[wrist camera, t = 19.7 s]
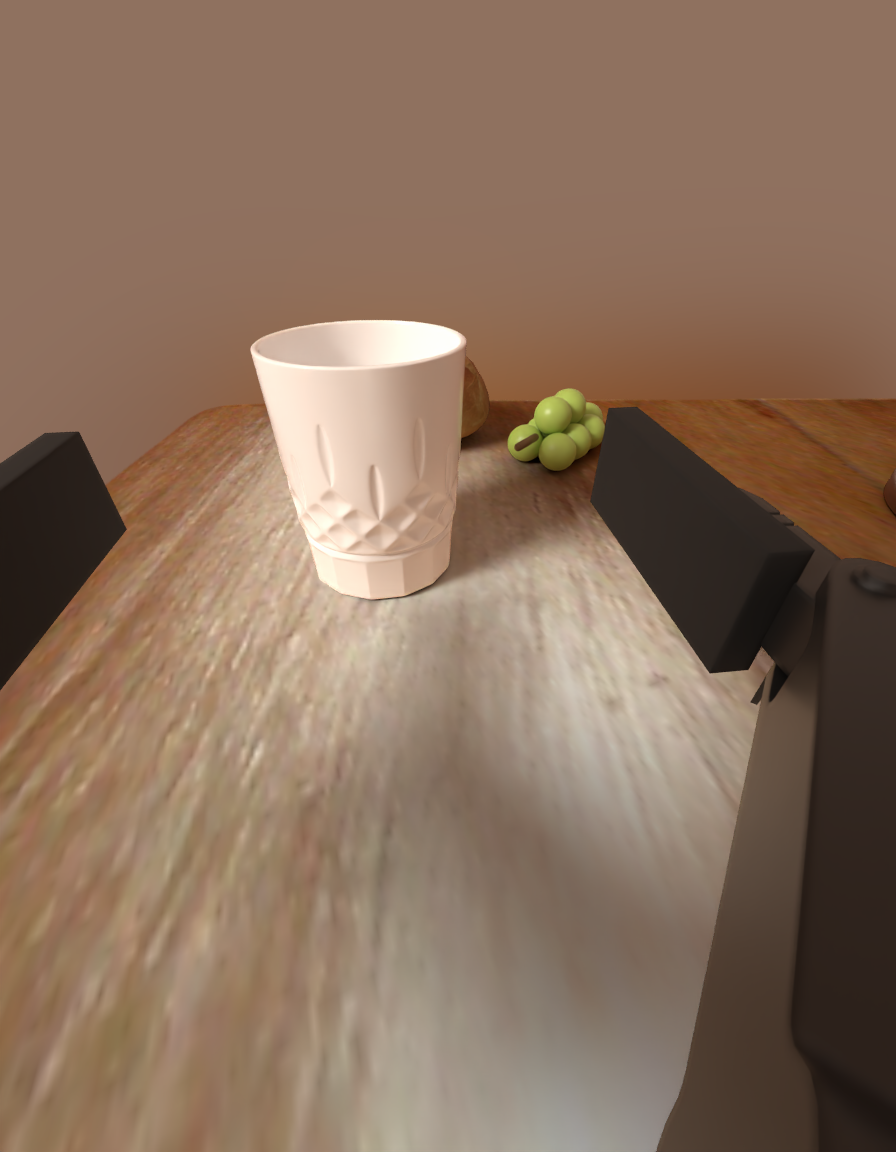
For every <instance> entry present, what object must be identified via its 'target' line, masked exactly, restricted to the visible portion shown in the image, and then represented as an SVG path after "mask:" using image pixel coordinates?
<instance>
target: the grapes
mask: <svg viewBox="0 0 896 1152" xmlns="http://www.w3.org/2000/svg"><path fill="white" fill-rule="evenodd" d="M604 430H605V425H604V423H603V415H602V412H601V410H600V408H599V407H598V406H597V405H595V404H593V403H586V400H585V398H584V396H583V395H582V394H581V393H580V392H579V391H578V390H575V389H564V390H562V391H560V392H558V393H557V394H556V395H555V396H553V397H548V398H546V399H544V400H542V401H541V402H540V403H539V404H538V406H537V408H536V410H535V414H534V418H533V419H532V420H531V421H530V422H529V423H528V424H525V425H520V426H518V427H516V428H515V429H514V430H513V431H512V432H511V434H510V436H509V438H508V449H509V451H510V453H511V455H512V456H513V457H514V458H516V459H517V460H520V461H530V460H533V459H535V458H536V457H537V456H538V455H539V459H540V461H541V463H542V464H543V465H544V466H545V467H546V468H548V469H550V470H553V471H560V470H563V469H566V468H567V467H569V466H570V465H571V464H572V462H573V461H574V460H575V459H579V458H581V457H583V456H584V455H585V454H586V453H587V452H588V450H589V449H592V448H595V447H597V446H598V445H599V444H600V443H601V442H602V440H603V435H604Z"/></svg>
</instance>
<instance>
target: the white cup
mask: <svg viewBox="0 0 896 1152" xmlns="http://www.w3.org/2000/svg"><path fill="white" fill-rule="evenodd" d="M251 354H252V358H253V361H254V365H255V368H256V372H257V375H258V379H259V382H260V386H261V390H262V393H263V397H264V400H265V404H266V407H267V411H268V414H269V418H270V421H271V425H272V429H273V432H274V436H275V440H276V443H277V447H278V451H279V455H280V459H281V463H282V466H283V468H284V471H285V473H286V476H287V479H288V484H289V488H290V492H291V496H292V498H293V501H294V504H295V506H296V509H297V514H298V518H299V522H300V524H301V526H302V527H303V528H304V530H305V533H306V536H307V538H308V542H309V546H310V549H311V553H312V557H313V560H314V563H315V567H316V570H317V573H318V576H319V579H320V580H321V581H323V582H324V583H326V584H327V585H328V586H330V587H331V588H333V589H334V590H336V591H337V592H339V593H340V594H344V595H349V596H354V597H359V598H365V599H370V600H373V599H383V598H392V597H401V596H406V595H408V594H411V593H413V592H415V591H418V590H420V589H422V588H424V587H427V586H429V585H431V584H433V583H434V582H435V581H436V580H437V578H438V577H439V576H440V575H441V574H442V573H443V572H444V571H445V570H446V569H447V568H448V566H449V560H450V550H451V532H452V522H453V515H454V513H455V510H456V492H457V485H458V462H459V457H460V450H461V427H462V408H463V391H464V375H465V358H466V339H465V337H464V336H463V335H462V334H460V333H459V332H457V331H455V330H452V329H450V328H446V327H443V326H438V325H433V324H427V323H420V322H411V321H394V320H356V321H340V322H328V323H320V324H312V325H305V326H300V327H295V328H290V329H286V330H282V331H278V332H275V333H272V334H269V335H267V336H264V337H262V338H260V339H259V340H257V341H256V342H254V344H253V345H252V346H251Z"/></svg>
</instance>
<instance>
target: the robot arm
mask: <svg viewBox="0 0 896 1152" xmlns="http://www.w3.org/2000/svg"><path fill="white" fill-rule="evenodd" d="M884 498H885V501H886V502H887V504H888V506H889V507H890V509H891V510H892V511H893V513H894V514H895V515H896V469H895V470H894V472H893V474H892V475H891V477H890V479H889V480H888V482H887V484H886V485H885V488H884ZM590 502H591V503H592V505H593V506H594V507H595V509H596V510H597V512H598V513H599V515H600V516H601V518H602V519H603V520H604V522H605V523H606V525H607V526H608V528H609V529H610V530H611V532H612V533H613V535H614V536H615V538H616V539H617V541H618V542H619V543H620V545H621V546H622V548H623V549H624V551H625V552H626V553H627V555H628V556H629V558H630V559H631V561H632V562H633V564H634V565H635V566H636V568H637V569H638V571H639V572H640V574H641V575H642V577H643V578H644V579H645V581H646V582H647V584H648V585H649V587H650V588H651V589H652V591H653V592H654V594H655V595H656V597H657V598H658V600H659V601H660V602H661V604H662V605H663V607H664V608H665V610H666V611H667V612H668V614H669V615H670V617H671V618H672V620H673V621H674V623H675V624H676V625H677V627H678V628H679V630H680V631H681V633H682V634H683V635H684V637H685V638H686V640H687V641H688V643H689V644H690V646H691V647H692V648H693V650H694V651H695V653H696V654H697V656H698V657H699V659H700V660H701V661H702V663H703V664H704V666H705V667H706V669H707V670H708V671H709V673H719V672H730V671H741V670H748V669H749V668H750V666H751V664H752V662H753V660H754V659H755V657H756V655H757V653H758V651H759V650H760V648H761V646H762V647H763V649H764V650H765V651H766V652H767V653H768V654H769V656H770V657H771V658H772V659H773V660H774V661H775V662H774V664H773V665H772V667H771V669H770V670H769V672H768V674H767V675H766V677H765V679H764V680H763V682H762V684H761V685H760V687H759V689H758V690H757V692H756V694H755V695H754V697H753V699H752V700H751V703H754V704H756V705H757V704H758V703H759V701H760V700H761V704H760V709H759V714H758V719H757V724H756V729H755V733H754V738H753V743H752V748H751V753H750V758H749V763H748V768H747V773H746V778H745V783H744V787H743V792H742V797H741V802H740V807H739V812H738V817H737V822H736V827H735V832H734V837H733V841H732V846H731V851H730V856H729V861H728V866H727V871H726V876H725V881H724V886H723V891H722V896H721V900H720V905H719V910H718V915H717V920H716V925H715V930H714V935H713V940H712V945H711V950H710V954H709V959H708V964H707V969H706V974H705V979H704V984H703V989H702V994H701V999H700V1004H699V1008H698V1013H697V1018H696V1023H695V1028H694V1033H693V1038H692V1043H691V1048H690V1053H689V1058H688V1062H687V1067H686V1072H685V1076H684V1080H683V1084H682V1087H681V1090H680V1093H679V1096H678V1098H677V1100H676V1102H675V1105H674V1107H673V1109H672V1111H671V1113H670V1115H669V1117H668V1119H667V1121H666V1123H665V1126H664V1129H663V1132H662V1135H661V1138H660V1141H659V1144H658V1147H657V1151H656V1152H896V567H893V566H890V565H887V564H884V563H881V562H877V561H872V560H867V559H861V558H845V559H842V560H841V559H840V558H839V557H837V556H836V555H835V554H834V553H832V552H831V551H830V550H828V549H827V548H826V547H825V546H823V545H822V544H821V543H819V542H818V541H817V540H816V539H814V538H813V537H812V536H810V535H809V534H808V533H807V532H805V531H804V530H803V529H801V528H800V527H799V526H794V522H792V521H791V520H790V519H789V518H787V517H786V516H785V515H780V511H778V510H777V509H776V508H774V507H773V506H772V505H771V504H769V503H768V502H767V501H765V500H764V499H763V498H760V497H758V496H756V495H754V494H752V493H750V492H747V491H745V490H743V489H741V488H737V487H736V486H735V485H734V484H732V483H731V482H730V481H729V480H727V479H726V478H725V477H724V476H722V475H721V474H720V473H719V472H717V471H716V470H715V469H714V468H712V467H711V466H710V465H709V464H707V463H706V462H705V461H704V460H702V459H701V458H700V457H699V456H697V455H696V454H695V453H694V452H692V451H691V450H690V449H689V448H688V447H686V446H685V445H684V444H683V443H681V442H680V441H679V440H678V439H676V438H675V437H674V436H673V435H671V434H670V433H669V432H668V431H666V430H665V429H664V428H663V427H661V426H660V425H659V424H658V423H656V422H655V421H654V420H653V419H651V418H650V417H649V416H648V415H646V414H645V413H644V412H643V411H641V410H640V409H639V408H638V407H624V408H609V409H608V414H607V419H606V425H605V430H604V435H603V440H602V445H601V450H600V455H599V460H598V465H597V470H596V475H595V481H594V486H593V491H592V496H591V501H590ZM126 530H127V529H126V527H125V525H124V523H123V521H122V519H121V517H120V515H119V513H118V511H117V509H116V506H115V504H114V502H113V500H112V498H111V496H110V494H109V492H108V490H107V488H106V486H105V484H104V482H103V480H102V478H101V476H100V474H99V472H98V470H97V468H96V466H95V464H94V462H93V460H92V457H91V455H90V453H89V451H88V449H87V447H86V445H85V443H84V441H83V439H82V437H81V435H80V433H79V432H60V433H44V434H43V435H42V436H40V437H39V438H37V439H36V440H34V441H33V442H31V443H30V444H28V445H27V446H26V447H24V448H22V449H21V450H19V451H18V452H17V453H15V454H14V455H12V456H11V457H9V458H8V459H6V460H5V461H3V462H2V463H0V690H1V689H2V687H3V686H4V685H5V684H6V682H7V681H8V680H9V679H10V677H11V676H12V675H13V673H14V672H15V671H16V670H17V668H18V667H19V666H20V665H21V663H22V662H23V661H24V659H25V658H26V657H27V656H28V654H29V653H30V652H31V651H32V649H33V648H34V647H35V645H36V644H37V643H38V642H39V640H40V639H41V638H42V637H43V635H44V634H45V633H46V631H47V630H48V629H49V628H50V626H51V625H52V624H53V623H54V621H55V620H56V619H57V617H58V616H59V615H60V614H61V612H62V611H63V610H64V609H65V607H66V606H67V605H68V603H69V602H70V601H71V600H72V598H73V597H74V596H75V595H76V593H77V592H78V591H79V589H80V588H81V587H82V586H83V584H84V583H85V582H86V580H87V579H88V578H89V577H90V575H91V574H92V573H93V572H94V570H95V569H96V568H97V566H98V565H99V564H100V563H101V561H102V560H103V559H104V558H105V556H106V555H107V554H108V552H109V551H110V550H111V549H112V547H113V546H114V545H115V544H116V542H117V541H118V540H119V538H120V537H121V536H122V535H123V533H124V532H125V531H126ZM761 698H762V699H761Z"/></svg>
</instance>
